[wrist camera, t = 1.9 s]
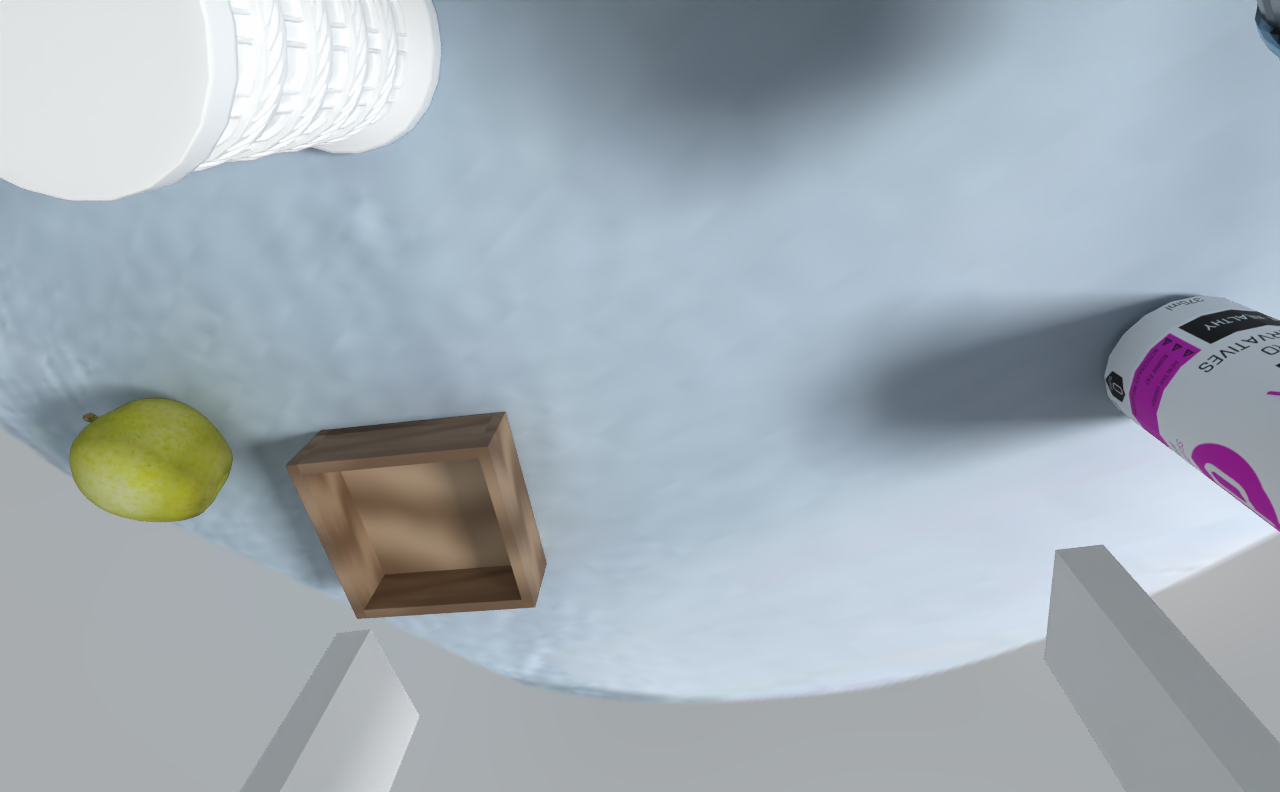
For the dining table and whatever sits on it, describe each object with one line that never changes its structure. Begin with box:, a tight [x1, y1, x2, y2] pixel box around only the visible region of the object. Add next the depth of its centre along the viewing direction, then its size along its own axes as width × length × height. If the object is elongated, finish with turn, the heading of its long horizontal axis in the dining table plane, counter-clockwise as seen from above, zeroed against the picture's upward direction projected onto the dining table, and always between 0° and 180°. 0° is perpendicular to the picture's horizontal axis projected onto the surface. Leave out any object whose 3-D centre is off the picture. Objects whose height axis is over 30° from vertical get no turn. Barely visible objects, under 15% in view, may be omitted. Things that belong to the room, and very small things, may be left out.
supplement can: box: [1104, 296, 1280, 531], centre depth 32 cm, size 8×8×15 cm
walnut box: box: [286, 412, 547, 619], centre depth 45 cm, size 14×14×4 cm
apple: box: [70, 398, 233, 522], centre depth 41 cm, size 8×9×8 cm
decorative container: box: [0, 0, 442, 201], centre depth 25 cm, size 12×12×18 cm
